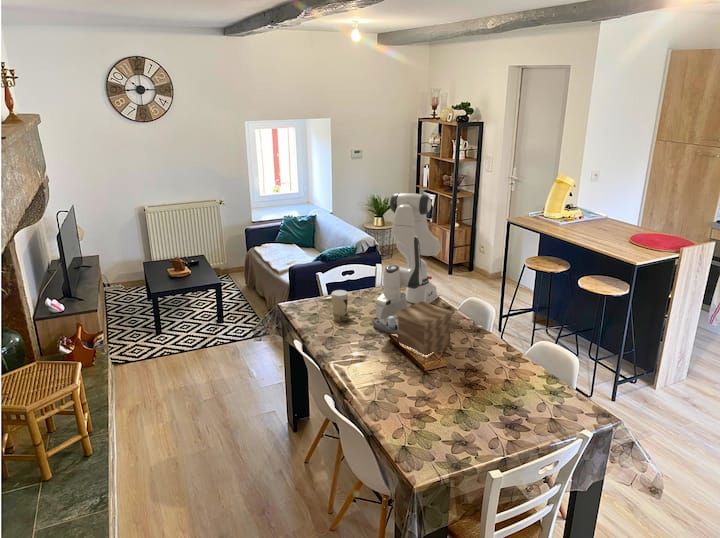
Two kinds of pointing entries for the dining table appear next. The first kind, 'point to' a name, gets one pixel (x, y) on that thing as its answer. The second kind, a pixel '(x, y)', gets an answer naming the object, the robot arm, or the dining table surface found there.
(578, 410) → the dining table surface
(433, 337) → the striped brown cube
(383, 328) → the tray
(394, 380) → the dining table surface
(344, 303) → the coffee cup
